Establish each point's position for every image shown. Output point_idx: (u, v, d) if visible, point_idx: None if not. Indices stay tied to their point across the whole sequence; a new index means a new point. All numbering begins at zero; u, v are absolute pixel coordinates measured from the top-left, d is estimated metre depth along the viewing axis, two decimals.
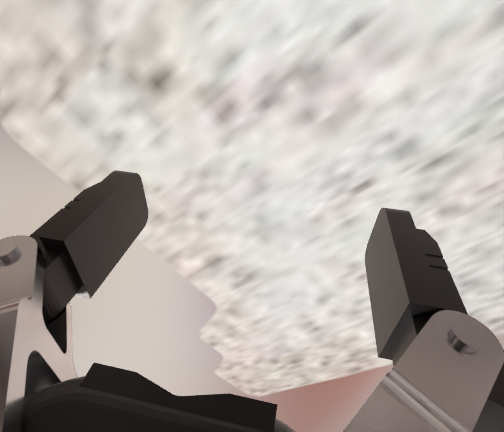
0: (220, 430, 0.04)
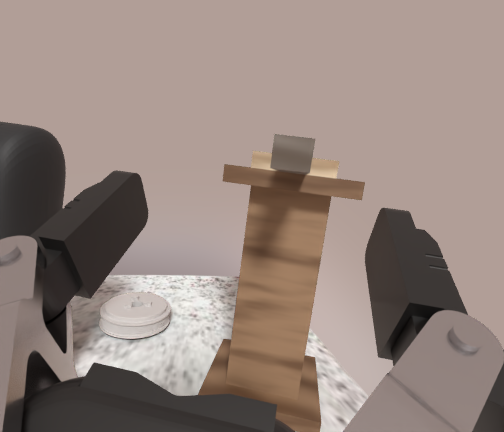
0: (220, 430, 0.04)
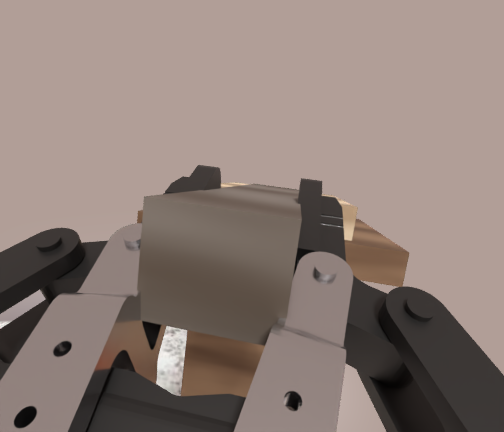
0: (220, 430, 0.04)
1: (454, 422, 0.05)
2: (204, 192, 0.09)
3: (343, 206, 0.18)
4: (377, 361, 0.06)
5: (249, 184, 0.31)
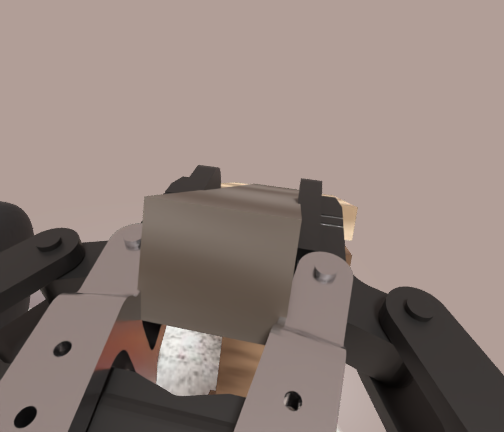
0: (220, 430, 0.04)
1: (454, 422, 0.05)
2: (204, 192, 0.09)
3: (343, 206, 0.18)
4: (377, 361, 0.06)
5: (249, 184, 0.31)
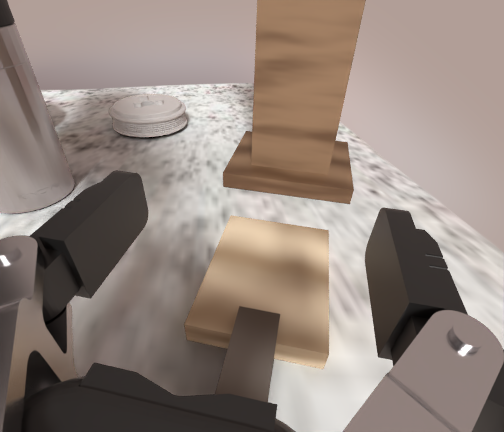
0: (220, 430, 0.04)
1: None
2: None
3: (316, 351, 0.20)
4: None
5: (244, 219, 0.31)
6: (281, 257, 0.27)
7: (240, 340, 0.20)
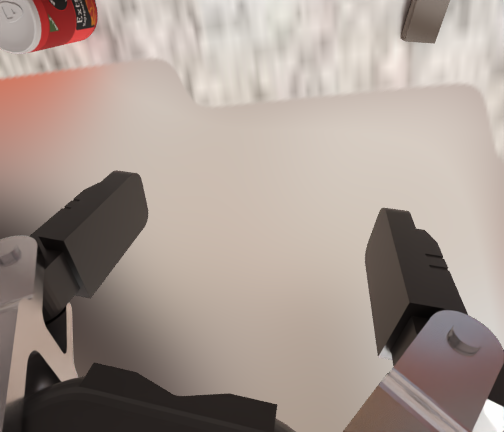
0: (220, 430, 0.04)
1: None
2: (417, 9, 0.31)
3: None
4: None
5: None
6: None
7: None
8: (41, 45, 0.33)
